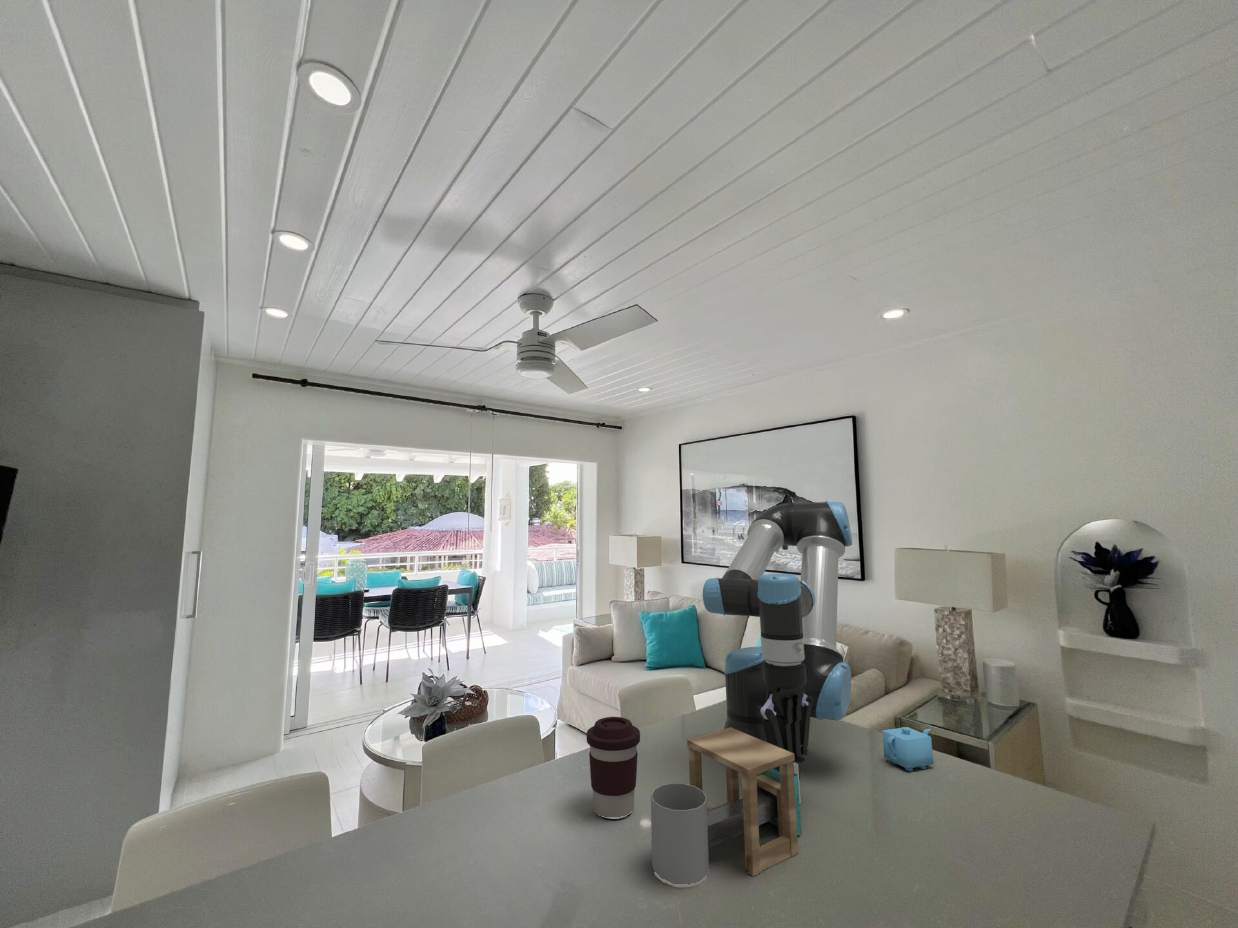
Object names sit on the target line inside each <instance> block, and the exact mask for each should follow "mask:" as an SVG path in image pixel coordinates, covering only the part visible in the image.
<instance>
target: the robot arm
mask: <svg viewBox="0 0 1238 928" xmlns="http://www.w3.org/2000/svg"><path fill="white" fill-rule="evenodd" d="M850 525H851V524H850V520H849V516H848V512H847V509H846V506H845V504H844V503H843V502H841V501H828V500H825V501H820V502H818V501H817V502H816V501H814V502H793V503H791V502H787V503H781V504H777V505H774V506H772V507H770V508H768V509H767V510H765V511H763V512H762V513H761V514H759V515H758V516H757V517H755V518H754V520H753V521H752V522H751V523H750V525H749V527H748V529H747V533H746V534H747V536H746V537H747V538H746V539H745V541H744V542H743V544H742V546H741V547H740V549H739V550H738V552H737V554H736V555H735V556H734V558H733V559H732V561H731V563H730V564H729V567H728V568H727V569H726V571H725V572H724V574H723V576H722V577H721V578H720V577H712V578H708V579H706V580H705V581H704V585H703V586H702V587H703V588H702V601H703V602H702V603H703V606H704V608H705V610H706V611H707V612H708V613H711V614H718V615H723V616H726V615H727V616H741V617H743V616H745V617H755V618H756V617H757V618H758V617H759V625H760V629H759V630H760V646H750V647H747V646H746V647H741V648H737V649H734V650H731V651H729V652H728V653H727V654H726V656H725V662H724V663H725V664H724V666H725V670H724V672H723V673H724V680H725V681H724V682H725V700H726V702H725V703H726V720H725V724H724V727H723V729H727V728H730V727H731V728H734V729H736V730H738V731H741V732H743V733H746V734H748V735H750V736H753V737H755V738H758V739H760V740H762V741H765V742H767V743H770V744H772V745H774V746H777V747H779V748H782V749H784V750H787V751H789V752H791V753H794V757H795V761H793V768H794V773H795V774H797V775H798V784H799V802H800V805H801V803H802V802H801V800H802V799H801V787H800V786H801V785H800V780H801V769H800V765H801V764H804V763H805V761H806V759H805V758H803V757H802V756H806V755H808V750H809V749H808V747H809V738H810V737H809V736H810V724H811V718H814V719H817V720H819V721H823V720H825V721H826V720H827V721H828V720H829V721H841V720H842V719H843V718H844V717H845V716H846V714H847V712H848V709H849V704H850V700H851V692H852V670H851V666H850V665H849V664H848V663H846V662H844V655H843V654H842V653H841V652H840V650H838V648H837V633H838V631H837V629H838V628H837V627H838V626H837V625H838V595H839V594H838V591H839V589H838V587H839V585H838V584H839V559H840V558H842V557H843V556H844V555H845V554H846V547H847V548H848V547H851V546H852V545H853V537H852V531H851V526H850ZM791 546H792V547H796V549H797V551H798V553H800V554H801V568H800V569H801V570H800V578H799V577H798V576H797V574H796V575H795V574H791V573H767V574H766V573H765V571H766V570H767V567H768V565H769V563H770V561H771V559H772V557H773V556H774V553H776V552H777V551H779V550H780V549H781V548H782V547H791ZM800 763H801V764H800Z"/></svg>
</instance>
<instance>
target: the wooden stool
mask: <svg viewBox="0 0 1238 928" xmlns="http://www.w3.org/2000/svg"><path fill="white" fill-rule="evenodd" d="M686 742H687V747H688V760H689V761H688V762H689V763H688V764H689V768H688V769H689V770H688V771H689V785H691V786H695V787H697V788H698V789H700V790H702V791H703V790H704V789H703V762H702V760H703V759H702V757H703V755H705V756H706V757H708V758H711V759H712V760H714V761H716V762H718V763H720V764H722V765H724V766H725V776H726V778H725V780H726V782H725V783H726V802H724V803H722V804H720V805H719V804H718V805H717V806H714V807H712V808H709V809H707V812H710V811H712V810H715V809H717V808H720V807H722V806H725V805H727V804H730V803H732V802H735V801H737V800H740V783H739V782H740V781H739V773H740V774H741V783H742V784H741V786H742V789H741V790H742V791H741V792H742V798H743V816H744V832H743V834H744V835H743V836H744V837H743V838H744V861H745V871H746V870H747V872H749V873H750V874H751V875H753V876H754V875H756V876H758V875H760V874H761V873H762V872H764V871H766V870H768V869H769V868H771V867H773V866H775V865H778V864H779V863H781V862H784V861H785V860H787V859H789V858H792V857H794V856H797V855H799V847H798V844H799V843H798V835H797V823H796V805H795V786H794V768H793V761H795V757H794V753H791V752H789V751H787V750H784V749H782V748H779V747H777V746H774V745H772V744H770V743H767V742H765V741H762V740H760V739H758V738H755V737H753V736H750V735H748V734H746V733H743V732H741V731H738V730H736V729H734V728H731V727H730V728H727V729H724V728H723V729H720V730H717V731H714V732H710V733H705V734H702V735H699V736H695V737H691V738H689V739H688V738H687V740H686ZM702 754H703V755H702ZM778 766H780V782H778V781H776V780H773V779H771V778H769V777H767V776H765V775H763V774H761V773H762V772H765V771H767V770H770V769H773V768H776V767H778ZM764 789H765V790H767V791H768V792H770V793H772V794H774V795H776V796H777V809H778V826H777V827H778V829H777V830H778V837H776V838H774V839H772V840H771V841H768V842H766V843H764V844H762V845H760V827H759V826H760V825H758V803H757V793H758V792H760V791H763V790H764ZM703 792H704V791H703ZM767 868H768V869H767ZM763 870H764V871H763ZM747 872H746V873H747ZM749 873H748V874H749ZM759 873H760V874H759ZM750 874H749V875H750ZM751 875H750V876H751ZM753 876H752V877H753ZM754 877H755V876H754Z"/></svg>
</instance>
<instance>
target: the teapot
mask: <svg viewBox="0 0 1238 928" xmlns="http://www.w3.org/2000/svg"><path fill="white" fill-rule="evenodd" d="M931 731H932V729H931V728H926V729H924V730H923V731H922V732H921V731H918V730H916V729H913V728H911V727H909V726H902V727H898V728H890V729H884V730H882V731H881V734H882V745H883V756H884V757H883V758H885V759H887V760H889V761H891V763H892V764H893V765H894V764H895V765H898V766H900V767H903V768H904V770H905V771H907V772H914V769H913V768H920V769H921V770H922V769H923V770H926V769H927V767H926V766H931V765H934V755H933V744H932V742H933V741H932V737H931V735H929V733H930V732H931Z"/></svg>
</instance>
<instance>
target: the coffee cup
mask: <svg viewBox="0 0 1238 928" xmlns="http://www.w3.org/2000/svg"><path fill="white" fill-rule="evenodd" d="M640 741H641V730H640V729H639V728H638V727H637V726H636V725H633V723H632V721H631V720H630V719H628V718H626V717H621V716H605V717H601V718H599V719H597V720H596V721H595V722H594V725H592V726H591V727H590V728H588V729H587V730H586V742H587V744H588V746H589V753H588V754H589V769H590V770H589V771H590V774H589V775H590V783H591V784H590V785H591V786H590V787H591V789H592V798H593V799H592V800H593V810H595V811H594V813H595V812H596V813H597V814H599V815H600V816H604V817H621V816H625V815H627V814H629V813H630V812H631V811H632V810H633V811H634V809H635V807H634V806H635V790H636V789H635V788H636V786H637V773H638V770H637V769H638V753H639V752H638V750H637V748H638V745H639V744H640ZM633 811H632V812H633ZM596 813H595V814H596ZM597 814H596V815H597ZM600 816H599V817H600Z"/></svg>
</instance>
